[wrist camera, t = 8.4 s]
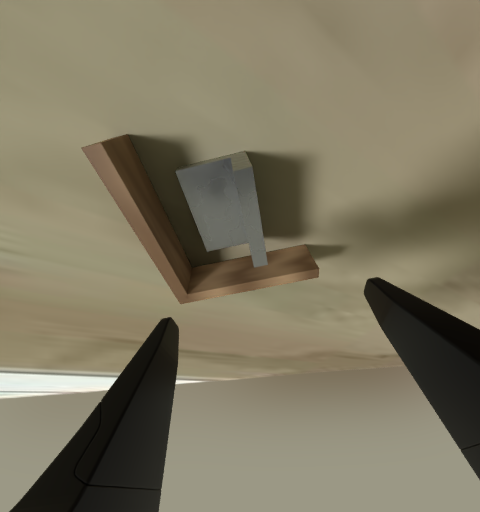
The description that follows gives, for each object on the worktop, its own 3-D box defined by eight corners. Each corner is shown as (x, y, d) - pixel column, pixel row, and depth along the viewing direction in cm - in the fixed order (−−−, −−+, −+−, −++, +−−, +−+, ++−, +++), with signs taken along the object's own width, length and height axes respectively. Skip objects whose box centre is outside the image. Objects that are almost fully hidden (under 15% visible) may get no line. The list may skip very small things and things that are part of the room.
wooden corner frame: (305, 87, 13) (331, 83, 10) (304, 252, 22) (318, 277, 19) (112, 138, 14) (81, 147, 11) (185, 277, 23) (180, 304, 20)
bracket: (259, 233, 20) (267, 264, 17) (207, 244, 21) (204, 277, 17) (244, 150, 16) (252, 166, 12) (177, 167, 16) (163, 188, 12)
